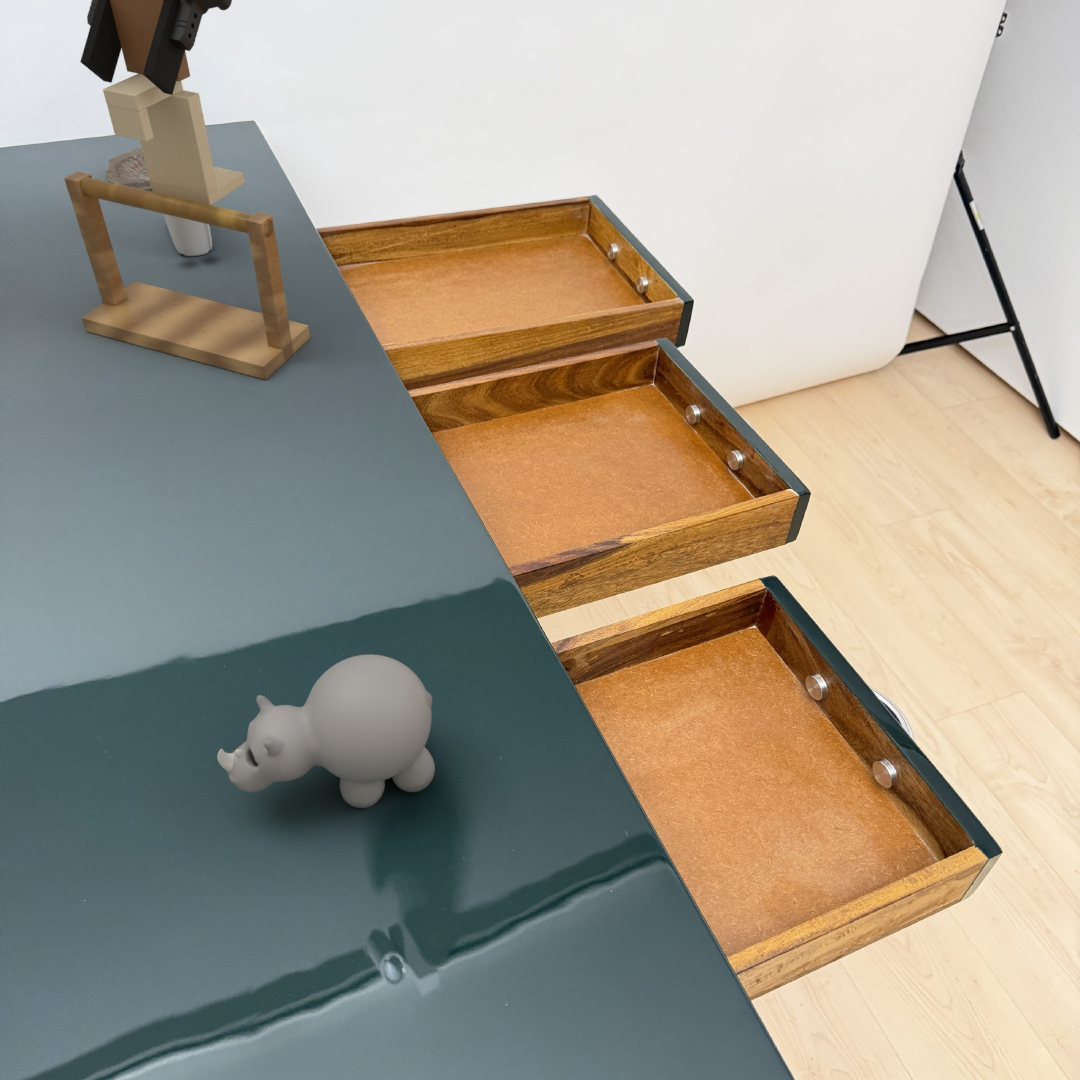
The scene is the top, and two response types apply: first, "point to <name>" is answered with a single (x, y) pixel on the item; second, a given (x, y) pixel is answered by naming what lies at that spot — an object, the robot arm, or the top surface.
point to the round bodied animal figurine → (343, 733)
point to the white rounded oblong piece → (189, 235)
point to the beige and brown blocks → (163, 115)
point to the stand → (180, 317)
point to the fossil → (129, 170)
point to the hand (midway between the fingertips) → (126, 78)
